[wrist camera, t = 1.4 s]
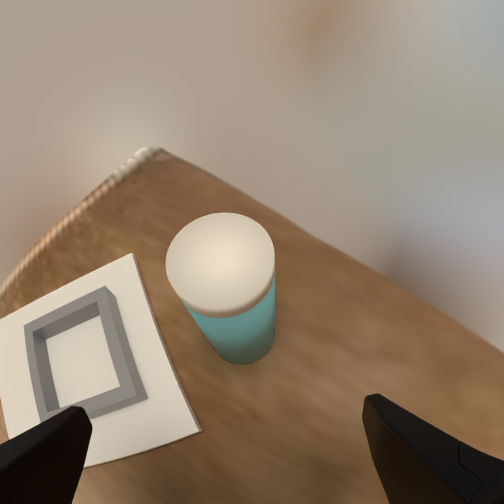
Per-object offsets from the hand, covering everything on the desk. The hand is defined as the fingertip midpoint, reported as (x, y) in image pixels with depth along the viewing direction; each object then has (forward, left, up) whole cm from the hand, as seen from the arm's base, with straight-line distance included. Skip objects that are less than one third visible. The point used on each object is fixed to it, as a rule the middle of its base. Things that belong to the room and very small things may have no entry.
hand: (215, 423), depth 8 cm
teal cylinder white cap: (+4, +6, -13) cm, 15 cm away
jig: (-10, +12, -13) cm, 20 cm away
